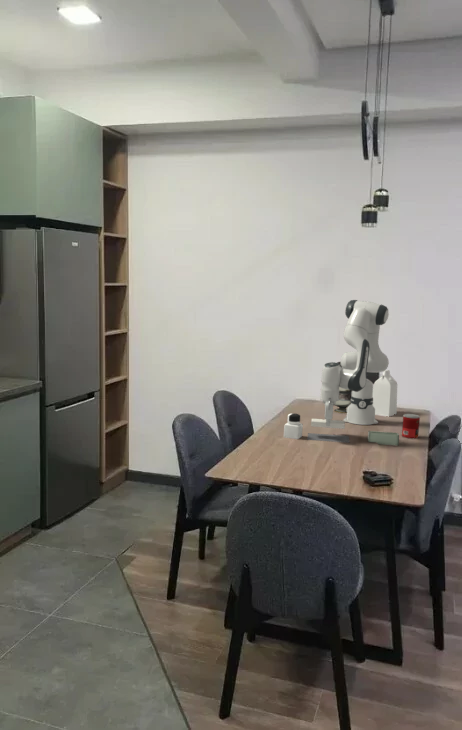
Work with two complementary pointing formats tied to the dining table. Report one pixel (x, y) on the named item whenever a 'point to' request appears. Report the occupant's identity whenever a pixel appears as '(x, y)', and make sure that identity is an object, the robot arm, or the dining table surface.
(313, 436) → the mat
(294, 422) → the medicine bottle
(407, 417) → the canned food
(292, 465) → the dining table surface
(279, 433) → the dining table surface
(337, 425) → the lid
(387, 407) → the milk
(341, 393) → the apothecary jar
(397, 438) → the pale green open box
